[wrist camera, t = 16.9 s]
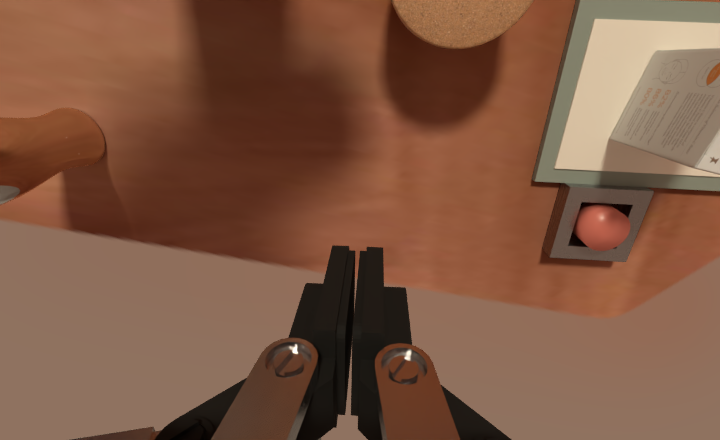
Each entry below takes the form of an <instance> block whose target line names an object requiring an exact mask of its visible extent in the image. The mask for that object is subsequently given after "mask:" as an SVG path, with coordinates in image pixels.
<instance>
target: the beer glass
mask: <svg viewBox="0 0 720 440" xmlns="http://www.w3.org/2000/svg"><path fill="white" fill-rule="evenodd" d="M104 151H105V140H104V137H103V134H102V132H101V130H100V128H99V127H98V125H97V124H96V123H95V122H94V120H93V119H91V118H90V117H89V116H88V115H86V114H85V113H83V112H81V111H79V110H77V109H73V108H59V109H55V110H53V111H50V112H48V113H46V114H44V115H41V116H37V117H31V118H0V205H2V204H4V203H7V202H9V201H11V200H14V199H16V198H18V197H20V196H22V195H24V194H26V193H27V192H29V191H31V190H33V189H34V188H36V187H38V186H39V185H41V184H42V183H44V182H45V181H47V180H48V179H50V178H51V177H53V176H55V175H56V174H58V173H60V172H62V171H64V170H66V169H69V168H74V167H82V166H88V165H92V164H94V163H96V162H98V161H99V160H100V159H101V158H102V156H103V154H104Z"/></svg>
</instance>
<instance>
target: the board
mask: <svg viewBox="0 0 720 440" xmlns="http://www.w3.org/2000/svg"><path fill="white" fill-rule="evenodd" d="M704 48H720V2H692V1H663V0H576V2H575V6H574V10H573V15H572V19H571V23H570V27H569V31H568V35H567V39H566V43H565V47H564V51H563V55H562V59H561V63H560V67H559V71H558V75H557V79H556V83H555V87H554V91H553V96H552V100H551V104H550V108H549V112H548V116H547V120H546V124H545V128H544V132H543V136H542V140H541V144H540V148H539V152H538V156H537V160H536V164H535V168H534V172H533V177H532V180H534V181H535V182H555V183H574V184H593V185H612V186H631V187H650V188H669V189H688V190H708V191H720V175H718V174H714V173H710V172H706V171H702V170H698V169H694V168H691V167H688V166H685V165H682V164H679V163H676V162H673V161H670V160H668V159H665V158H662V157H659V156H657V155H654V154H651V153H648V152H645V151H642V150H640V149H637V148H634V147H631V146H628V145H625V144H622V143H619V142H616V141H613V140H611V139H610V137H611V135H612V133H613V131H614V130H615V128H616V126H617V124H618V122H619V120H620V118H621V116H622V114H623V112H624V110H625V108H626V106H627V105H628V103H629V101H630V99H631V97H632V95H633V93H634V91H635V89H636V87H637V85H638V84H639V82H640V80H641V78H642V76H643V74H644V72H645V70H646V68H647V66H648V65H649V63H650V61H651V59H652V57H653V55H654V53H655V51H657V50H678V49H704Z"/></svg>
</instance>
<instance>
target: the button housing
mask: <svg viewBox="0 0 720 440" xmlns="http://www.w3.org/2000/svg"><path fill="white" fill-rule="evenodd" d="M653 193H654V191H653V190H651V189H649V188H647V187H631V186H612V185H593V184H574V183H561V184H560V187H559V191H558V194H557V198H556V201H555V205H554V208H553V212H552V215H551V219H550V223H549V226H548V230H547V233H546V237H545V240H544V244H543V247H542V249H543V250H544V251H545V252H546V254H547V255H548V256H549V257H551V258H568V259H584V260H601V261H618V262H626V261H627V258H628V256H629V253H630V251H631V248H632V246H633V243H634V241H635V238H636V236H637V233H638V231H639V228H640V226H641V223H642V221H643V218H644V216H645V213H646V211H647V208H648V206H649V203H650V201H651V198H652V196H653ZM582 202H591V203H609V204H618V207H617V210H618V211H620V212H621V213H623V214H624V215H625V216H627V218H628V219H629V221H630V232H629V234H628V236H627V238H626V239H625V240H624V241H623V242H622V243H621V244H620V245H618V246H617V247H615V248H613V249H610V250H606V251H596V250H593V249H591V248H589V247H588V246H587V245H586V244H584V243H583V242H582V241H581V240H580V239H579V238H570V237H571V234H572V231H573V228H574V225H575V222H576V218H577V215H578V212H579V209H580V206H581V203H582Z"/></svg>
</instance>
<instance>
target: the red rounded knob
mask: <svg viewBox="0 0 720 440" xmlns="http://www.w3.org/2000/svg"><path fill="white" fill-rule="evenodd" d="M572 232H573V233H574V234H575V235H576V236H577V237H578V238H579V239H580V240H581V241H582V242H583V243H584V244H586V245H587V246H588V247H589V248H591V249H593V250H596V251H606V250H610V249H613V248H615V247H617V246H618V245H620V244H621V243H622V242H623V241H624V240H625V239H626V238H627V236H628V234H629V232H630V221H629V219H628V218H627V216H625V215H624V214H623V213H621V212H620V211H618V210H617V209H615V208H614V207H612V206H611V205H609V204H607V203H591V202H587V203H584V204H583V205H581V206H580V209H579V212H578V215H577V218H576V222H575V225H574V228H573V231H572Z"/></svg>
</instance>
